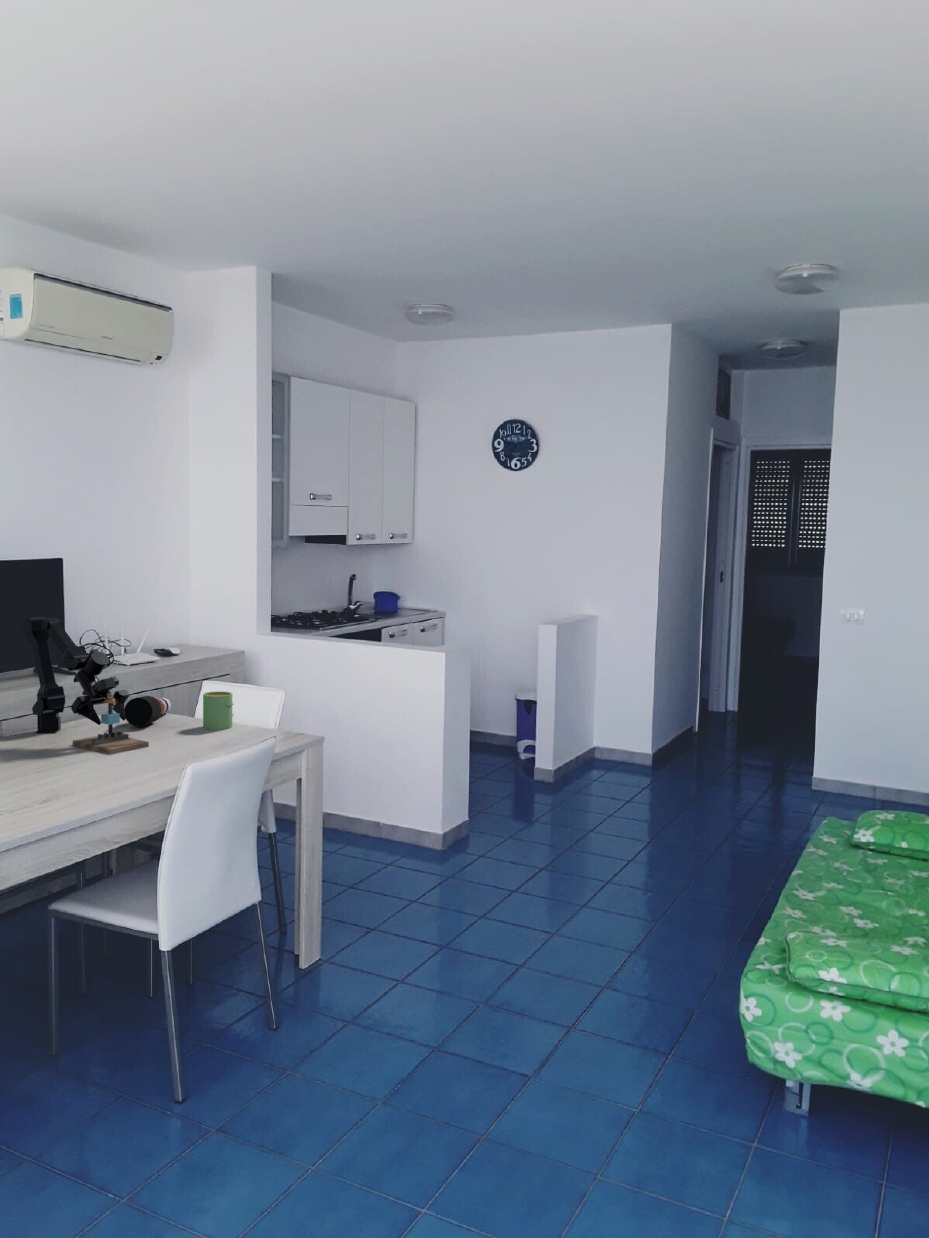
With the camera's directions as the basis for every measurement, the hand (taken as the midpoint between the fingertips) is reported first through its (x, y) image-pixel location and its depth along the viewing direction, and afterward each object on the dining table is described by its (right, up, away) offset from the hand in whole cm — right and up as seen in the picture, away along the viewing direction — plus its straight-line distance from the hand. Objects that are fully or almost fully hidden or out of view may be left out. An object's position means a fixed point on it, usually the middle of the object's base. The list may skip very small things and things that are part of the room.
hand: (112, 721), depth 319 cm
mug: (+26, -5, +35) cm, 44 cm away
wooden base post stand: (-1, -8, +1) cm, 8 cm away
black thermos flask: (-1, -4, +45) cm, 46 cm away
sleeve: (-1, 0, +1) cm, 1 cm away
